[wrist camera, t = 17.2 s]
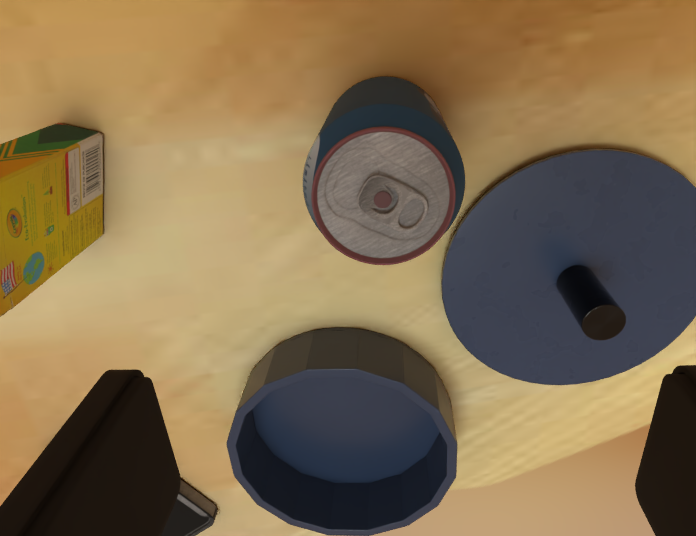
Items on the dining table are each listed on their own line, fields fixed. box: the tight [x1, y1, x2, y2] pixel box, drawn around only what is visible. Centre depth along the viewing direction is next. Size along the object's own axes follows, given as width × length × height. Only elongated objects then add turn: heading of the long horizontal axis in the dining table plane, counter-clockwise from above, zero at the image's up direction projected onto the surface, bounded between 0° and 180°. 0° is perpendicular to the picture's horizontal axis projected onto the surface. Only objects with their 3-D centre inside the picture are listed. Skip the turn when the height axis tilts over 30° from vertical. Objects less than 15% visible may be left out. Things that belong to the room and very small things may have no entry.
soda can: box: [303, 77, 465, 265], centre depth 26 cm, size 7×7×12 cm
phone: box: [161, 480, 217, 536], centre depth 46 cm, size 8×1×15 cm
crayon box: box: [0, 123, 104, 316], centre depth 29 cm, size 7×3×12 cm, turn 167°
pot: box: [227, 328, 457, 536], centre depth 39 cm, size 16×16×5 cm
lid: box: [441, 149, 696, 385], centre depth 32 cm, size 17×17×6 cm
